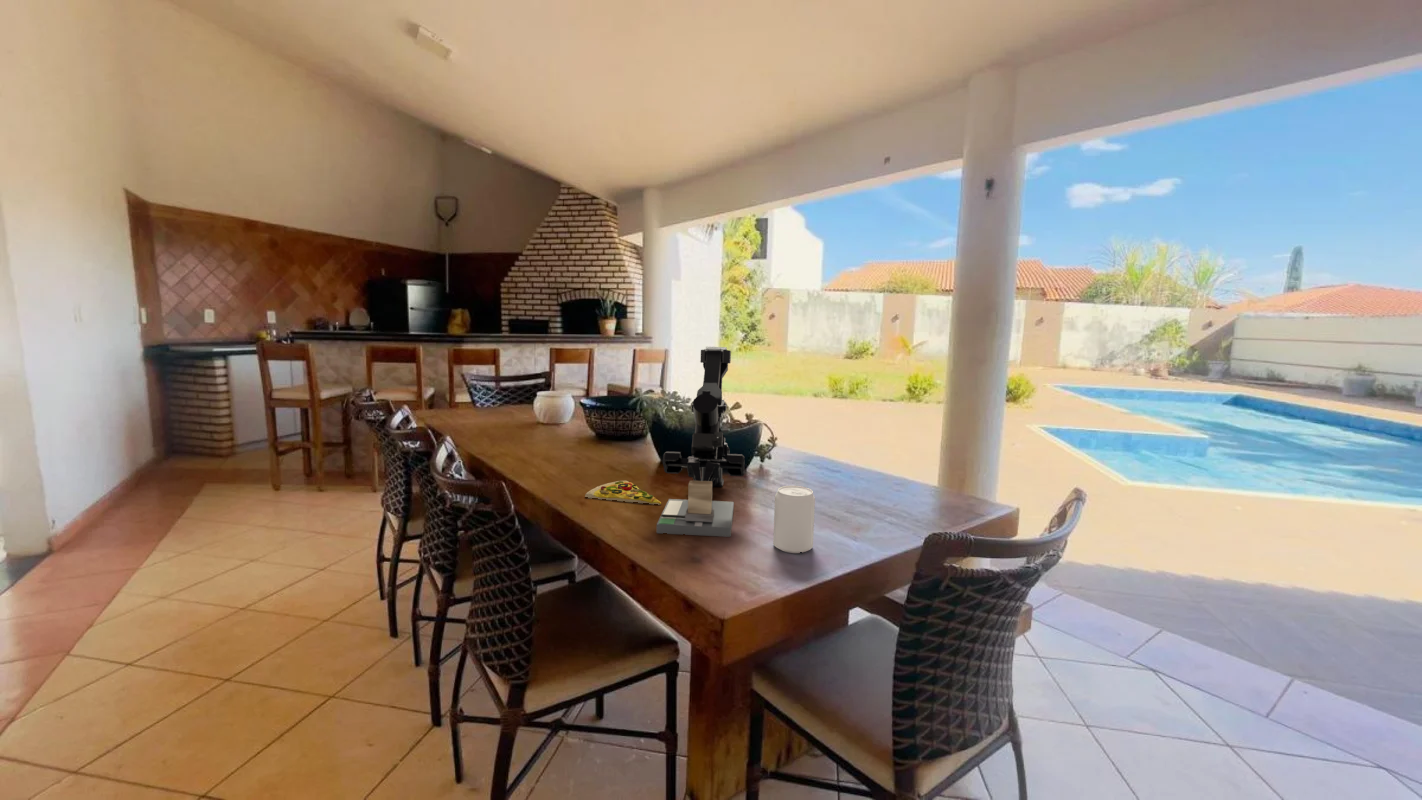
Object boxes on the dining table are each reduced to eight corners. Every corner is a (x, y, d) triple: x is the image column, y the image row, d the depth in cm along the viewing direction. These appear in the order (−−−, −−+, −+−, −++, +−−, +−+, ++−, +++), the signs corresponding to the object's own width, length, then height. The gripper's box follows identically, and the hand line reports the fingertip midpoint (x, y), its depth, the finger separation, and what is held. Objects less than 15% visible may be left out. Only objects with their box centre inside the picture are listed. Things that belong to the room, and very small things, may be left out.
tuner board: (668, 506, 142) (669, 497, 141) (733, 509, 140) (733, 500, 140) (656, 533, 124) (656, 522, 124) (730, 536, 123) (730, 526, 122)
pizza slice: (622, 485, 161) (622, 475, 161) (680, 500, 149) (680, 489, 149) (580, 498, 149) (580, 487, 148) (639, 515, 137) (639, 503, 136)
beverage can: (784, 536, 123) (786, 482, 122) (819, 545, 119) (822, 489, 117) (765, 548, 117) (767, 491, 115) (801, 558, 112) (804, 499, 111)
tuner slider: (663, 512, 130) (663, 478, 129) (714, 515, 129) (715, 480, 128) (659, 520, 125) (659, 484, 124) (712, 522, 124) (713, 486, 123)
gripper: (664, 417, 132) (655, 476, 122) (745, 420, 130) (743, 480, 121) (668, 444, 140) (661, 501, 131) (745, 446, 139) (742, 504, 130)
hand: (701, 496), depth 128 cm, fingers closed, pressing on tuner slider
